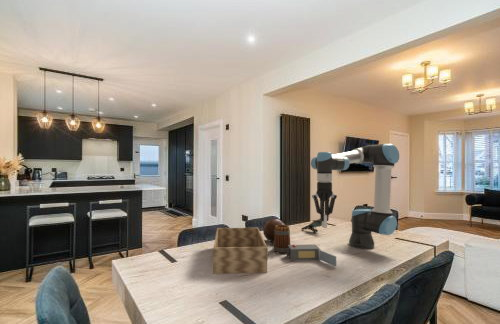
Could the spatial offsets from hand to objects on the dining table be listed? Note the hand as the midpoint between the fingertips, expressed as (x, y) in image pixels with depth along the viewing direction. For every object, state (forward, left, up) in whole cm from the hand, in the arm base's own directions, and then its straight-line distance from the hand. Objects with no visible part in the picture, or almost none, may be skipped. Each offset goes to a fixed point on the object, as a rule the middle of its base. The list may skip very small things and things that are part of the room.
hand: (324, 227), depth 136 cm
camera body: (+8, -11, -19) cm, 24 cm away
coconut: (+19, -42, -20) cm, 50 cm away
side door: (-2, -1, -19) cm, 19 cm away
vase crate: (+44, -12, -19) cm, 49 cm away
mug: (+17, -25, -20) cm, 36 cm away
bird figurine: (-15, -65, -20) cm, 70 cm away
